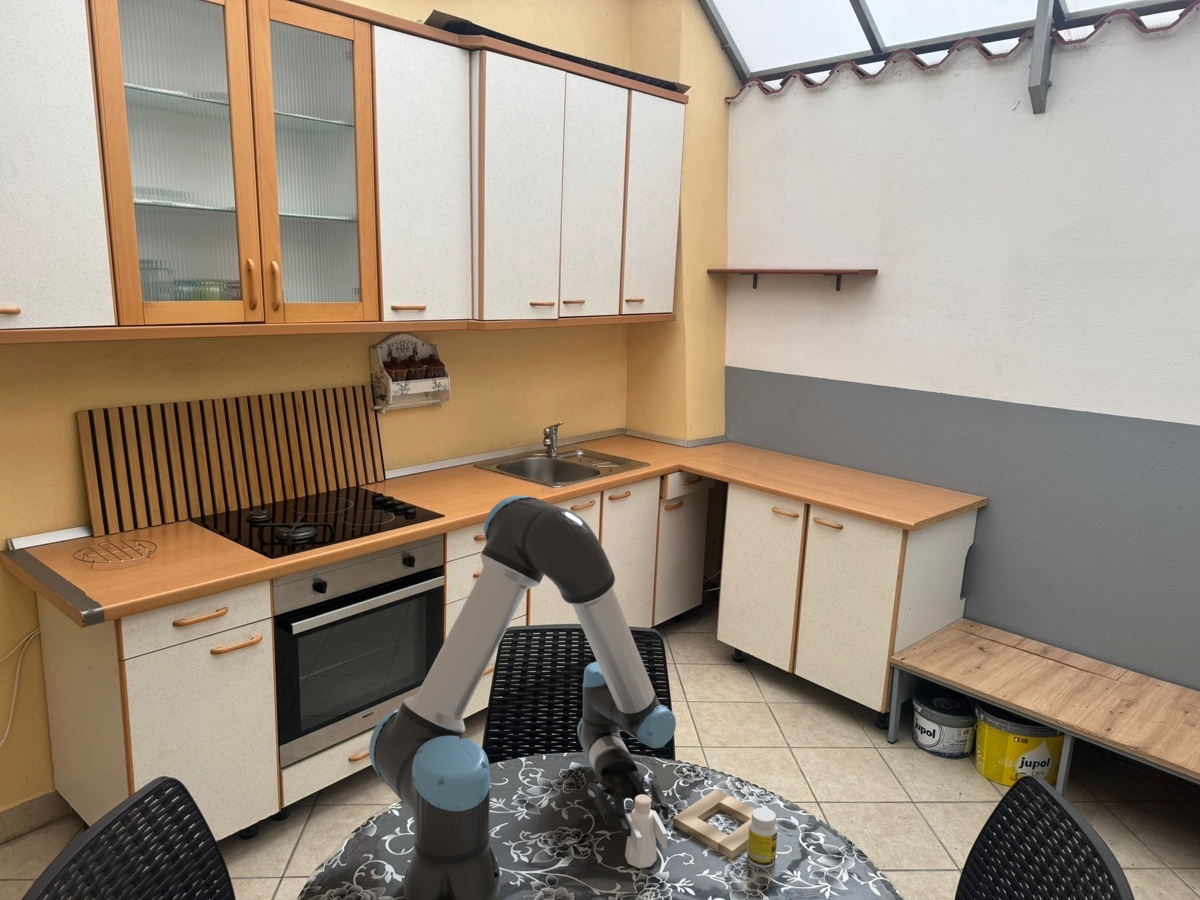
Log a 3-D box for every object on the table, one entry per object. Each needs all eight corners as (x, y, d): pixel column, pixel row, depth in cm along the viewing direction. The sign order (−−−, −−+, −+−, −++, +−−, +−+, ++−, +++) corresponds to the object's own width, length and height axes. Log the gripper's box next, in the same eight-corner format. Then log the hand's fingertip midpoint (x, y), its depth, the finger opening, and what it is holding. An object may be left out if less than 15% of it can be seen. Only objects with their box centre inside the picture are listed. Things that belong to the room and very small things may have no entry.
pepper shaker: (655, 870, 136) (657, 809, 135) (622, 866, 137) (624, 805, 135) (658, 850, 142) (660, 791, 140) (626, 846, 143) (628, 787, 141)
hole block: (672, 824, 149) (673, 817, 149) (716, 796, 159) (716, 788, 158) (732, 858, 141) (732, 850, 140) (774, 826, 150) (774, 818, 149)
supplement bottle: (775, 870, 138) (778, 824, 136) (746, 866, 139) (749, 820, 137) (775, 852, 142) (778, 808, 141) (747, 848, 143) (750, 804, 142)
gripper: (655, 779, 158) (699, 856, 136) (569, 789, 154) (601, 871, 132) (656, 742, 157) (702, 815, 135) (570, 752, 153) (602, 828, 131)
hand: (652, 842), depth 133 cm, fingers closed on pepper shaker, 4 cm apart
